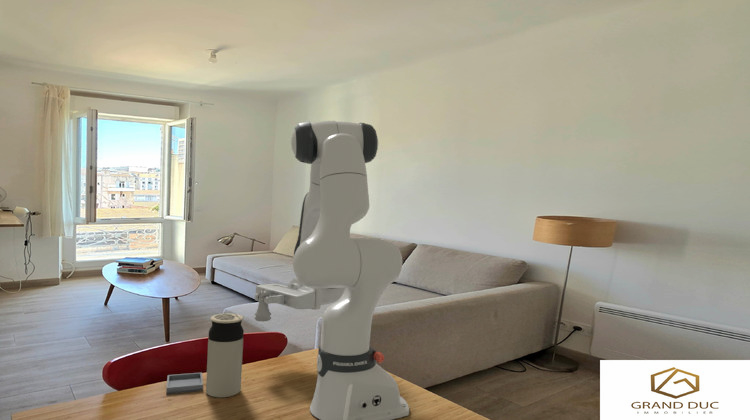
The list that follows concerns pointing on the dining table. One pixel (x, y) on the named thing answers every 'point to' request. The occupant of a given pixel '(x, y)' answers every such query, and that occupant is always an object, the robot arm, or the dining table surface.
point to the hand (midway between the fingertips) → (260, 298)
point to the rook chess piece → (263, 307)
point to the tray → (184, 383)
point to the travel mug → (224, 355)
